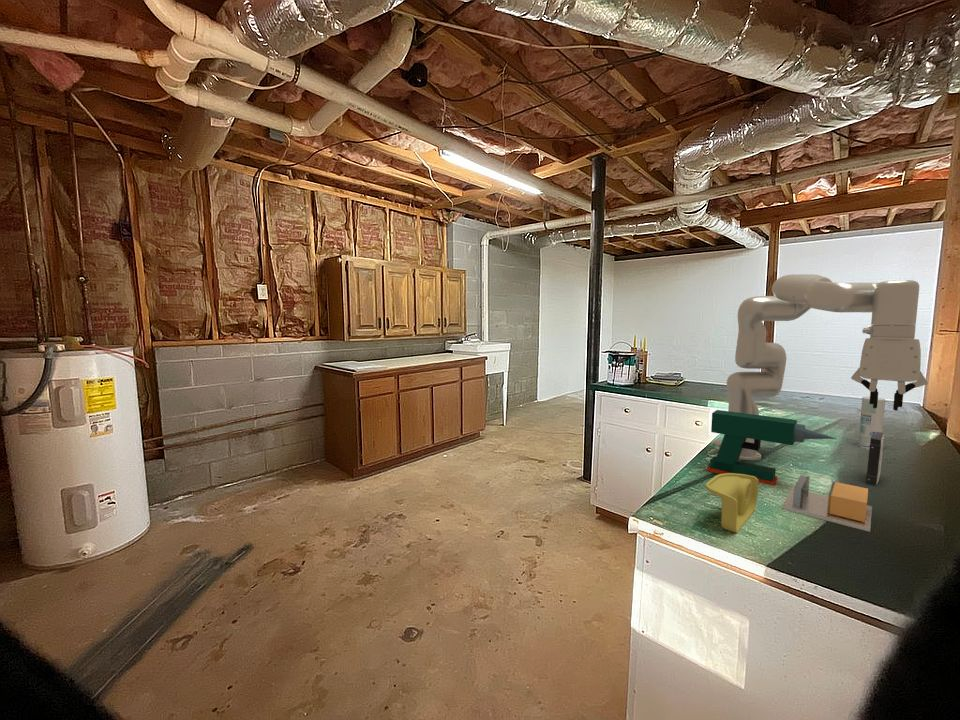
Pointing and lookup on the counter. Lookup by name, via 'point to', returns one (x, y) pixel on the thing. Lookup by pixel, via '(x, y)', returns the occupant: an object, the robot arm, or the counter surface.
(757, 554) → the counter surface
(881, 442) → the disk drive
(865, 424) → the tall white carton
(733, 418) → the power tool
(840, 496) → the block
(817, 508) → the vise base
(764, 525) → the counter surface
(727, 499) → the plastic component
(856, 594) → the counter surface
